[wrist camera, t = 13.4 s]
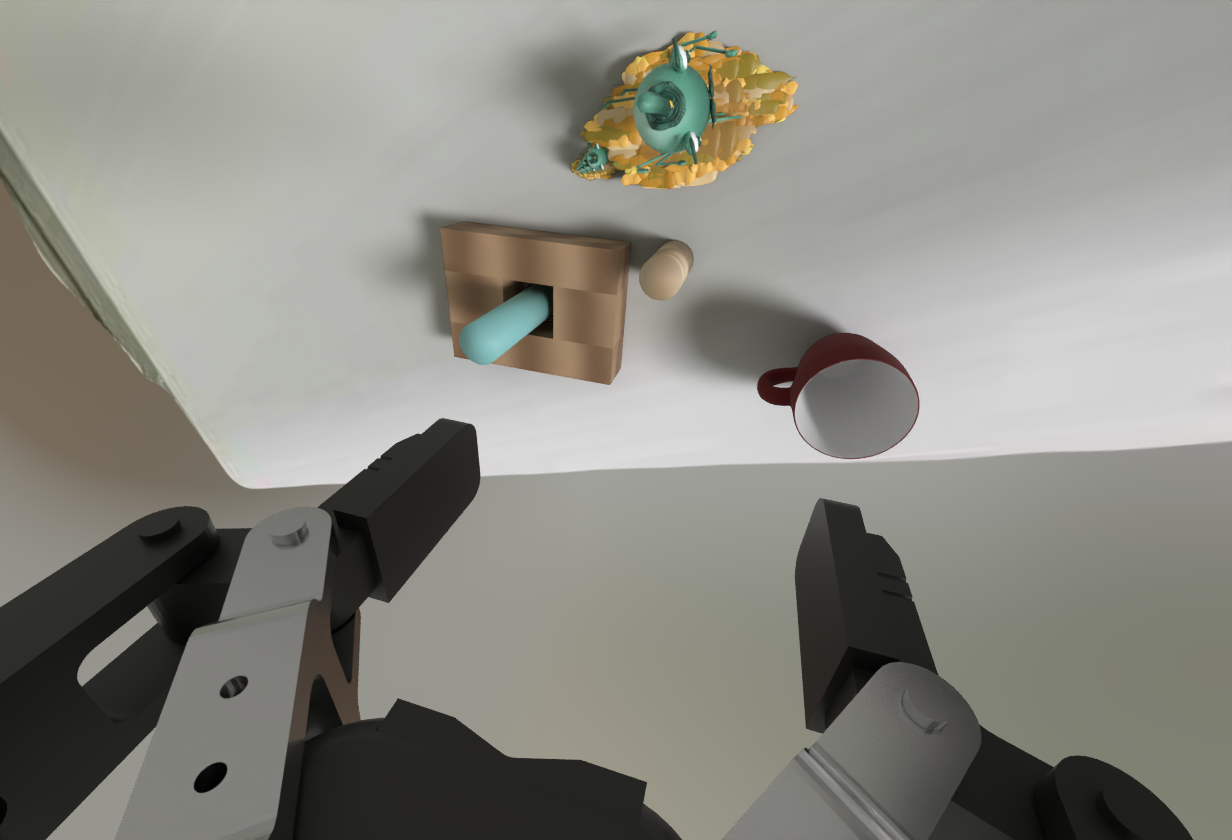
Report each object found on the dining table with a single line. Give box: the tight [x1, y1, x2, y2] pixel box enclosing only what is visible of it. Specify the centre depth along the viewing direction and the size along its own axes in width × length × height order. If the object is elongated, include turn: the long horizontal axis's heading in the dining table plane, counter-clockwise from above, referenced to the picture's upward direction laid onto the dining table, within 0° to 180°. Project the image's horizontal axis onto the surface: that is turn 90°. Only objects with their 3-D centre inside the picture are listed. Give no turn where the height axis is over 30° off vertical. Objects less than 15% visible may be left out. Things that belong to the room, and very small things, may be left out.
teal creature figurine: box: [571, 31, 799, 189], centre depth 31 cm, size 10×18×15 cm, turn 99°
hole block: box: [440, 222, 631, 385], centre depth 45 cm, size 16×12×4 cm
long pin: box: [459, 284, 553, 365], centre depth 41 cm, size 3×3×13 cm
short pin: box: [639, 240, 693, 300], centre depth 39 cm, size 3×3×7 cm
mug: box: [757, 333, 919, 459], centre depth 38 cm, size 10×8×10 cm
